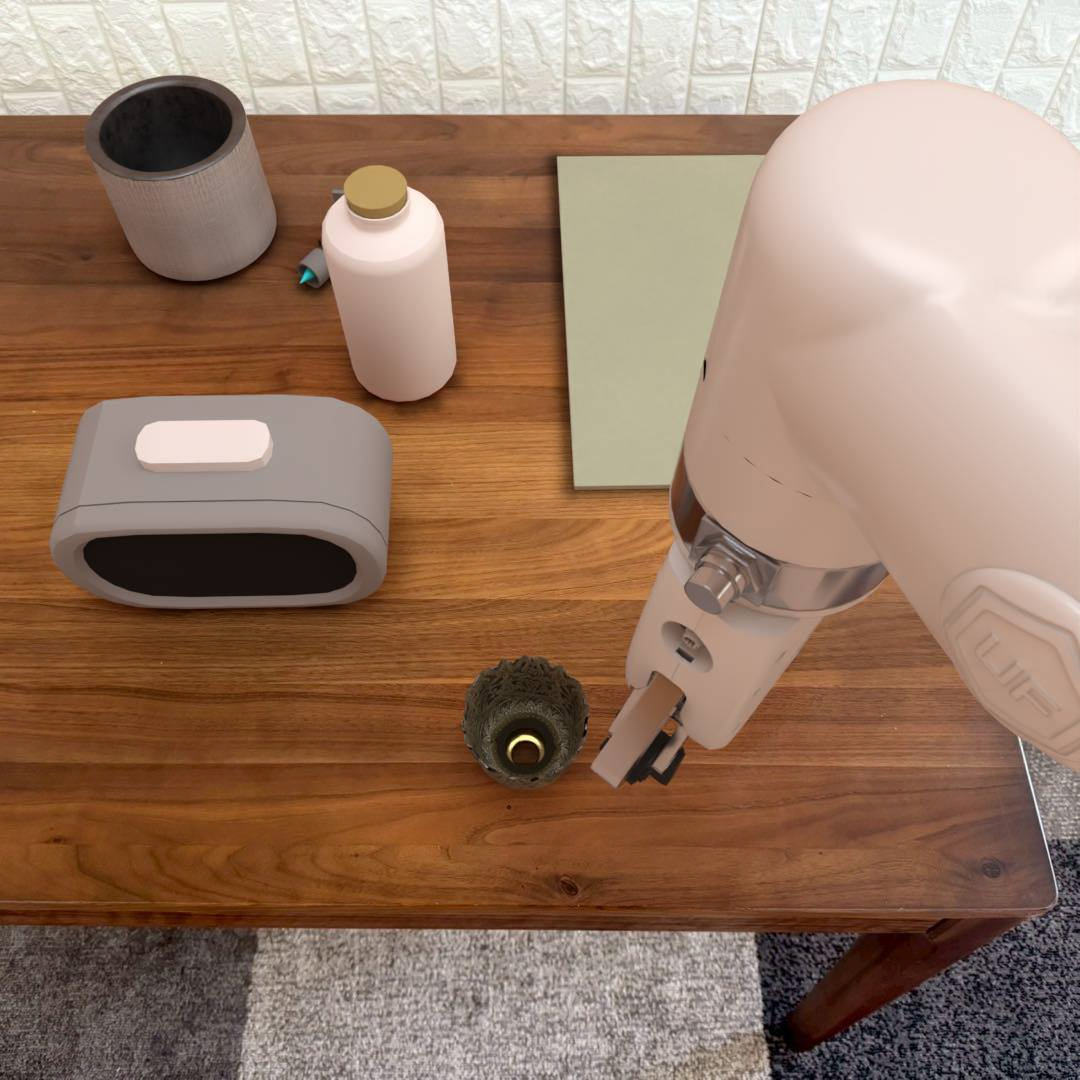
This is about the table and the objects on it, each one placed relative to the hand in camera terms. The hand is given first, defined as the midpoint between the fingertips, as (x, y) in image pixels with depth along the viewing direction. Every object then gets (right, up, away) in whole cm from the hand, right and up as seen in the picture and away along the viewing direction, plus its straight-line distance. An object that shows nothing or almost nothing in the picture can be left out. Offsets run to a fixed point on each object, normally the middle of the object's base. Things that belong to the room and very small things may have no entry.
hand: (702, 680), depth 45 cm
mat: (+6, +26, +36) cm, 45 cm away
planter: (-37, +33, +39) cm, 63 cm away
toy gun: (-22, +30, +38) cm, 53 cm away
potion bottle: (-18, +21, +33) cm, 43 cm away
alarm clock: (-28, +5, +24) cm, 37 cm away
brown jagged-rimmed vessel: (-9, -7, +17) cm, 21 cm away
